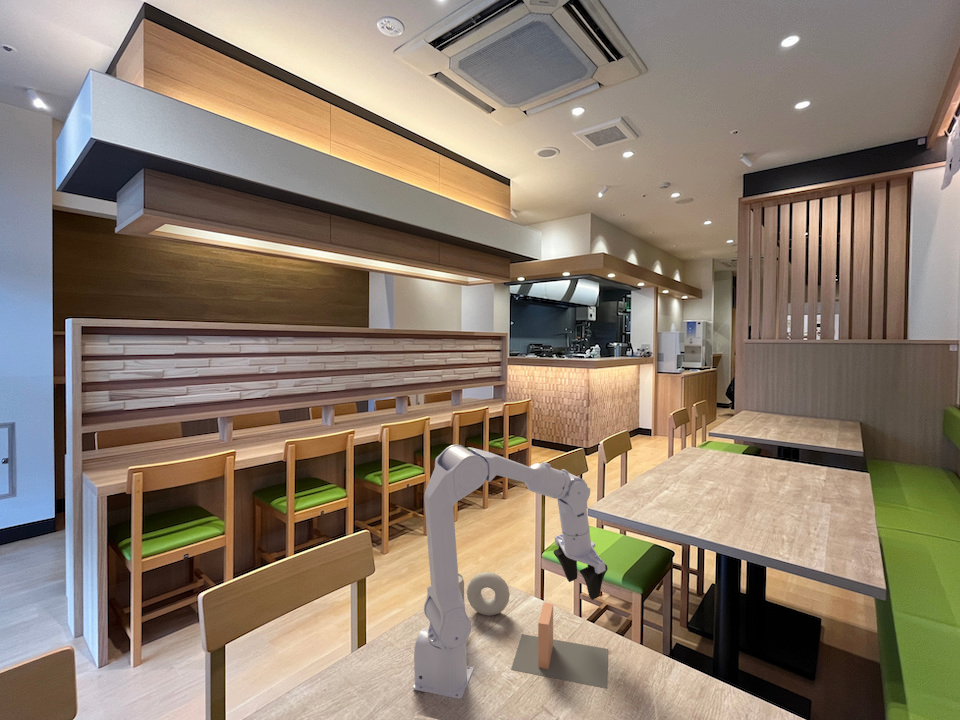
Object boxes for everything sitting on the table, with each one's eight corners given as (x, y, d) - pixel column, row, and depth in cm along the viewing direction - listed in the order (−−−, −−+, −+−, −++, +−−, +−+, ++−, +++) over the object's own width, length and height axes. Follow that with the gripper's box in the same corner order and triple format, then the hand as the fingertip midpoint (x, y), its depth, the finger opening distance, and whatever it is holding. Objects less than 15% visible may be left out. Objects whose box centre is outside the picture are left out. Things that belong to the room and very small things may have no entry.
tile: (538, 667, 92) (538, 622, 91) (543, 644, 98) (543, 602, 98) (548, 669, 91) (548, 624, 90) (553, 645, 98) (553, 604, 97)
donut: (510, 611, 110) (510, 570, 110) (509, 620, 107) (508, 578, 106) (468, 608, 112) (467, 567, 111) (465, 617, 108) (465, 575, 108)
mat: (511, 671, 91) (511, 669, 91) (521, 635, 102) (521, 633, 102) (607, 690, 86) (607, 688, 86) (608, 650, 97) (608, 648, 97)
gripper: (613, 535, 94) (621, 597, 96) (569, 511, 107) (577, 565, 109) (585, 548, 91) (594, 612, 93) (544, 521, 104) (552, 577, 106)
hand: (583, 588), depth 101 cm, fingers open, 7 cm apart
